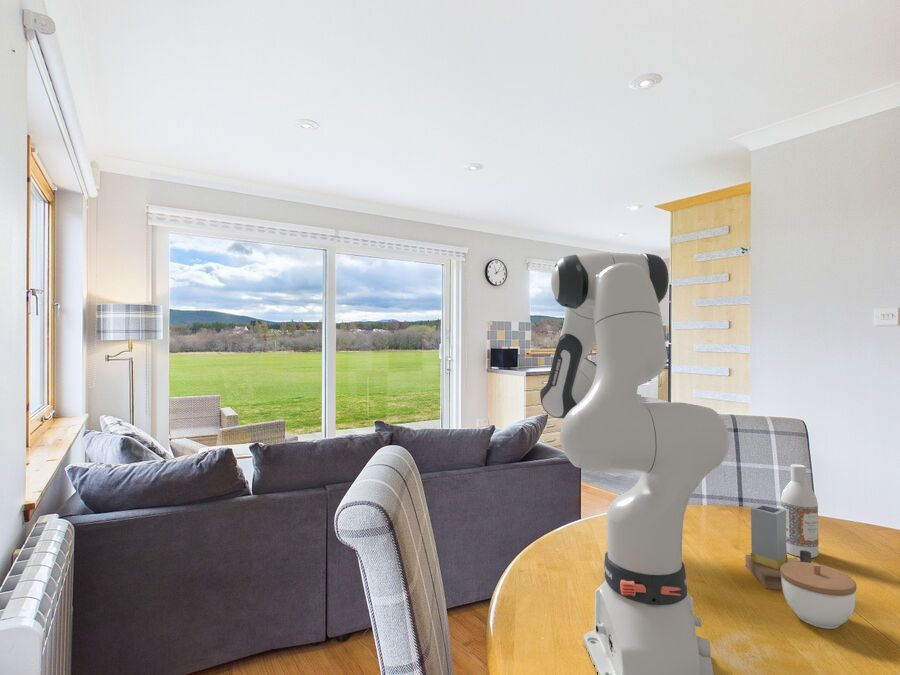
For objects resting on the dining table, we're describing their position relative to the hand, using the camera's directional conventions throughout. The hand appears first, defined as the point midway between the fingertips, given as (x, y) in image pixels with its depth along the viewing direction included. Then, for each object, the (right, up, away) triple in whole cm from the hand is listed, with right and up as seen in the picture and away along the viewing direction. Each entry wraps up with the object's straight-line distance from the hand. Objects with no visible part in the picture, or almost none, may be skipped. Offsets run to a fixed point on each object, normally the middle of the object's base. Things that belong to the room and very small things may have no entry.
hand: (668, 414), depth 115 cm
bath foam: (+30, -32, -1) cm, 44 cm away
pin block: (+17, -32, -13) cm, 39 cm away
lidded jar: (+14, -32, -28) cm, 45 cm away
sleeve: (+16, -29, -11) cm, 35 cm away
